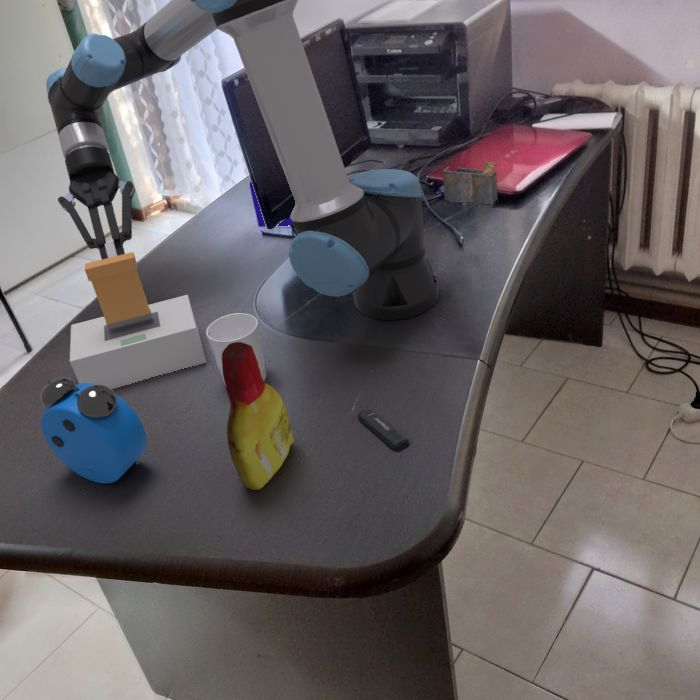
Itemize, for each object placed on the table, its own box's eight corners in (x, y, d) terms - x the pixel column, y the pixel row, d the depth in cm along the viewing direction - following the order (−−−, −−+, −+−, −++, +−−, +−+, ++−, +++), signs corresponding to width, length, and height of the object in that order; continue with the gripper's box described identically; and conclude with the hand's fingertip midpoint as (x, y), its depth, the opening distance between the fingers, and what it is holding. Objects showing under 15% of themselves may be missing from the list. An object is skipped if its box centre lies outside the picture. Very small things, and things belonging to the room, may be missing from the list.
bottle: (269, 502, 93) (235, 376, 82) (225, 495, 95) (186, 371, 84) (304, 440, 102) (278, 319, 91) (263, 435, 104) (232, 316, 93)
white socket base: (84, 358, 128) (70, 324, 124) (197, 328, 131) (187, 294, 127) (84, 396, 118) (69, 361, 114) (206, 362, 122) (195, 327, 118)
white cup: (230, 401, 112) (215, 347, 106) (214, 377, 118) (199, 324, 112) (277, 382, 114) (265, 328, 109) (259, 359, 120) (246, 307, 115)
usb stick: (411, 446, 99) (410, 437, 98) (395, 455, 98) (394, 446, 97) (371, 413, 106) (370, 405, 105) (356, 421, 105) (355, 412, 104)
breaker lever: (108, 327, 121) (85, 263, 116) (153, 315, 122) (133, 251, 117) (108, 334, 119) (84, 269, 113) (154, 321, 120) (133, 257, 114)
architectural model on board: (498, 204, 159) (497, 160, 154) (492, 209, 157) (491, 166, 152) (451, 198, 165) (448, 156, 159) (444, 204, 163) (442, 162, 157)
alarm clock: (160, 465, 102) (127, 378, 93) (131, 496, 97) (95, 408, 89) (89, 446, 107) (52, 363, 99) (59, 475, 103) (18, 391, 94)
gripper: (128, 157, 132) (161, 278, 127) (54, 174, 130) (85, 297, 125) (120, 136, 125) (155, 263, 120) (42, 153, 122) (74, 283, 118)
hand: (119, 280), depth 123 cm, fingers closed
